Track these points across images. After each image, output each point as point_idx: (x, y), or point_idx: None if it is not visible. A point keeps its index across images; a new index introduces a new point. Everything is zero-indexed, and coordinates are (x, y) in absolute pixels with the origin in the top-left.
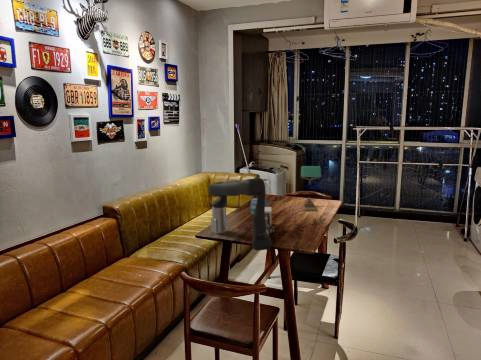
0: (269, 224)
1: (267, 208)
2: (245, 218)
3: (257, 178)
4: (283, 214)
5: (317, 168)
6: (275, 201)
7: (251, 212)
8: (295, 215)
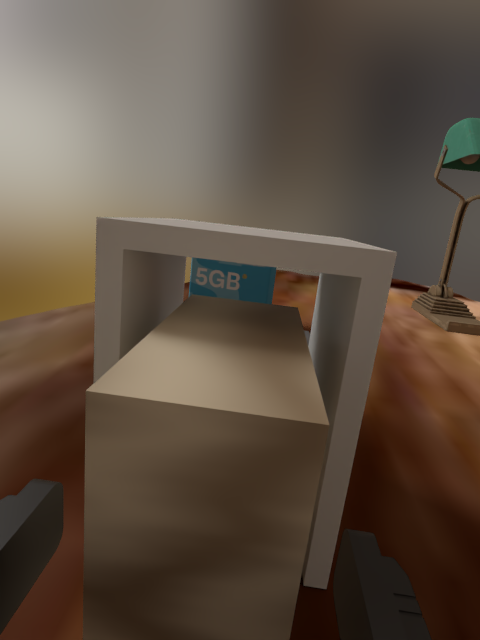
0: (361, 561)
1: (305, 235)
2: None
3: None
4: None
5: None
6: (299, 284)
7: None
8: (419, 346)
